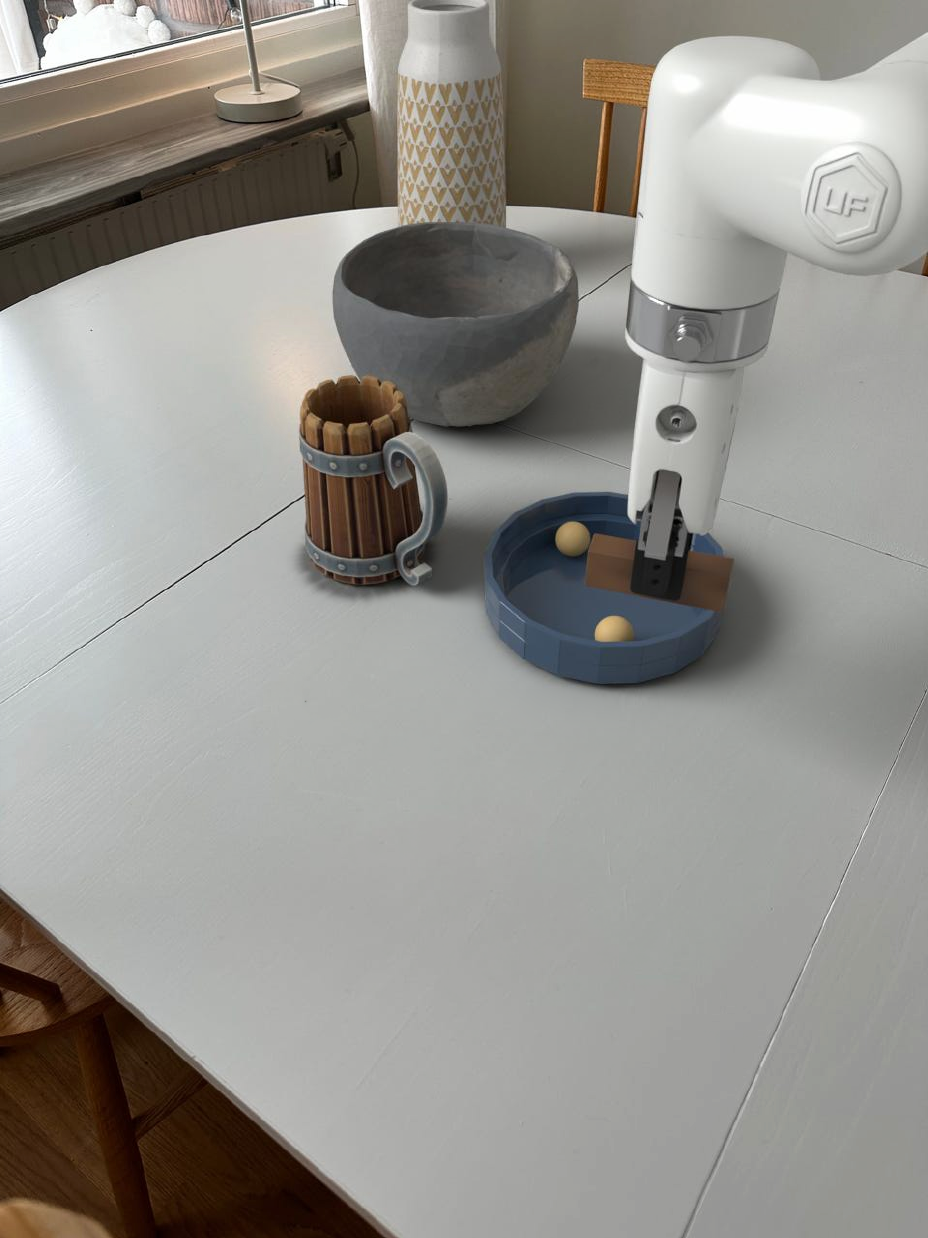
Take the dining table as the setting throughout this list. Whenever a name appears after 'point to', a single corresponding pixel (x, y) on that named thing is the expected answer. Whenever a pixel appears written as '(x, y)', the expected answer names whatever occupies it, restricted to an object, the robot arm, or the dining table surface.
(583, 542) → the bead
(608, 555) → the brown wooden block
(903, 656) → the dining table surface
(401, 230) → the bowl
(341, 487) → the mug
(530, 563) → the round tray
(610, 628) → the bead
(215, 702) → the dining table surface
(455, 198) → the vase
